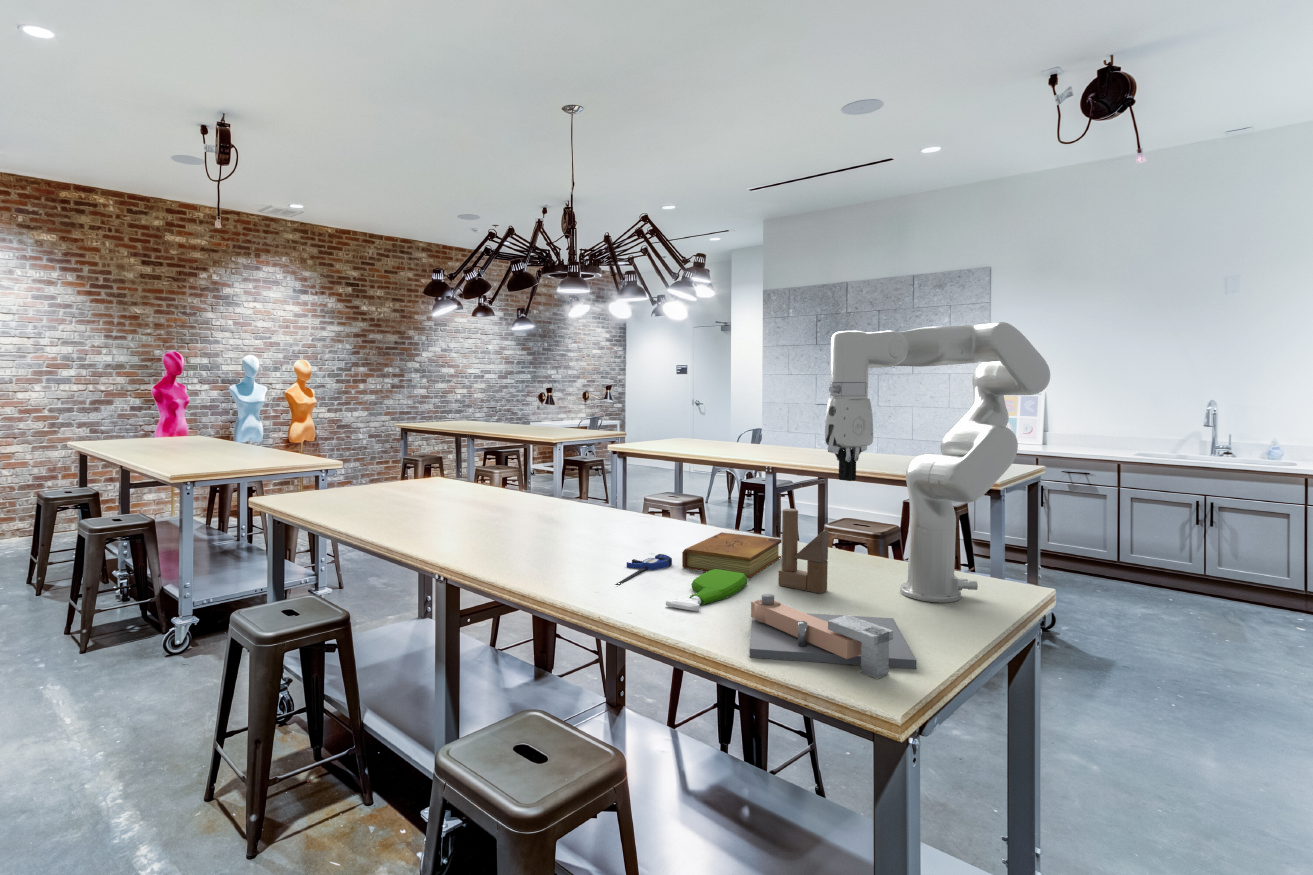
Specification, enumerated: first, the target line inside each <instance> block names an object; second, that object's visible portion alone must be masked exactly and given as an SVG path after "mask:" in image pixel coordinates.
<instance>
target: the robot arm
mask: <svg viewBox="0 0 1313 875" xmlns="http://www.w3.org/2000/svg"><path fill="white" fill-rule="evenodd" d="M977 363H979V364H977ZM964 364H965V365H966V364H967V365H968V364H977V366H976V367H975V369H974V370H973V371H974V372H973V374H972V381H971V382H972V389H973V393H972V394H973V402H972V404H971V407H970V408H969V409H968V411H966V413H965V414H963V416H962V417H961V418H960V419H959V420H958V421H957V422H955V424H954V425H953V426H952V427H951V428H950V429H949V430H948V431H947V432H946V433H945V435H944V436H943V437H942V439H941V442H940V448H939V449H940V452H941V453H921V454H919V455H916V456H915V457H913V458H912V459H911V460H910V462H909V463H908V464H907V467H906V471H905V481H906V486H907V491H908V492H907V493H908V499H909V500H908V502H909V526H908V527H909V528H908V530H909V532H908V556H907V557H908V563H907V564H908V565H907V568H908V569H907V581H906V582H904V583H902V584H901V585H900V587H899V588H900V590H899V591H900V593H902V594H903V595H904V596H906V597H909V598H910V599H914V600H916V601H917V600H918V601H923V602H930V603H941V604H942V603H954V602H957V601H959V600H961V599H962V592H961V591H963V590H972V591H977V590H978V588H979V586H978V581H977V580H969V579H968V578H958V577H957V576H956V574H955V566H956V565H955V562H956V559H955V558H956V537H957V536H956V534H957V533H956V532H957V530H956V528H957V516H956V511H955V509H954V505H953V503H952V502H957V503H966V504H967V503H968V504H969V503H974V502H976V501H978V500H980V499H981V498H982V497H984V495H985V494H986V493H987V492H988V491H989V490H990V489H991V488H992V487H993V486H994V485H995V484H996V482H998V480H999V479H1000V478H1001V477H1002V476H1003V475H1004V474H1005V473H1006V472H1007V471H1008V470H1009V468H1010V467H1011V466H1012V464H1013V463H1014V461H1015V459H1016V456H1017V453H1018V449H1019V443H1018V438H1017V435H1016V433H1015V432H1014V431H1012V429H1011V428H1010V427H1009V428H1008V427H1007V425H1008V423H1009V418H1010V417H1009V416H1010V415H1009V410H1008V409H1007V406H1006V400H1005V396H1034V395H1038V394H1039V393H1041V392H1044V391H1045V389H1046V388H1047V387H1048V385H1049V383H1050V381H1051V371H1050V367H1049V365H1048V363H1047V361H1046V359H1045V358H1044V356H1042V355H1041V353H1040V352H1039V351H1038V350H1037V349H1036V348H1035V346H1034V345H1033V344H1032V343H1031V342H1030V340H1028V338H1027V337H1026V336H1025V334H1023V333H1022V332H1021V331H1020V330H1019V329H1017V327H1015V326H1013V325H1012V324H1011V323H1008V322H1004V321H997V322H990V323H983V324H982V323H981V324H969V325H968V324H967V325H951V326H949V325H947V326H945V325H943V326H927V327H919V328H914V329H909V330H903V331H898V332H897V331H894V330H882V331H874V332H873V331H871V332H865V331H861V330H844V331H843V330H841V331H836V332H835V333H833V334H832V336H831V338H830V370H829V371H830V372H829V374H830V375H829V376H830V377H829V378H830V379H829V380H830V381H829V388H828V391H829V398H828V402H827V406H826V414H825V422H824V425H825V426H824V441H825V444H826V445H827V452H828V453H831V454H834V455H835V457H836V460H837V461H838V479H839V480H840V481H847V482H853V481H856V480H857V462H858V461H859V458H860V455H861V453H862V452H865V451H867V450H868V447H869V446H871V445H872V444H873V442H874V419H873V418H874V417H873V409H872V408H873V407H872V404H871V403H872V402H871V399H870V398H869V369H874V368H875V369H876V368H877V369H879V368H880V369H881V368H882V369H883V368H892V367H914V368H916V367H917V368H918V367H919V368H920V367H921V368H922V367H938V366H949V365H950V366H952V365H964Z"/></svg>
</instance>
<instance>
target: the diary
mask: <svg viewBox="0 0 1313 875" xmlns="http://www.w3.org/2000/svg"><path fill="white" fill-rule="evenodd" d="M780 544H782V538H774V537H764V536H758V535H757V536H756V535H750V534H749V535H748V534H741V533H740V534H739V533H738V534H737V533H730V532H729V533H728V532H722V531H721V532H720V533H717V534H715V535H713V536H711V537H708V538H706V539H704V540H702V541H699V542H697V543H695V544H693V545H691V546H688V547H687V548H685V549H684V550H682V553H681V554H682V555H681V556H682V558H681V560H682V561H681V562H682V563H681V564H682V566H681V567H682V568H683V569H687V570H693V571H699V572H704V573H706V572H708V571H710V570H713V569H719V570H726V571H732V572H739V573H744V574H745V576H746V577H747V579H752V578H753V577H755V576H756V575H758V574H759V573H761V572H762V571H763V569H764V570H766V569H767V568H768V567H770V566H772V565H773V564H775V563H776V562H777V561H779V560H780V559H782V555H779V550H780V549H779V548H780V547H779V545H780ZM779 558H780V559H779ZM778 559H779V560H778ZM775 561H776V562H775ZM772 563H773V564H772ZM769 565H770V566H769ZM767 566H768V567H767ZM766 567H767V568H766ZM760 571H761V572H760ZM757 573H758V574H757ZM754 575H755V576H754Z"/></svg>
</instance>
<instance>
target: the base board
mask: <svg viewBox="0 0 1313 875" xmlns="http://www.w3.org/2000/svg"><path fill="white" fill-rule="evenodd" d="M805 613H806V614H808V615H811V616H814V617H816V618H819V619H821V620H824V621H826V622H828V621H829V620H832V619H835V618H838V617H842V616H845V615H846V614H845V615H843V614H842V615H841V614H825V613H824V614H823V613H808V612H805ZM851 616H852V617H855V618H858V619H861V620H864V621H867V622H870V623H873V624H876V625H879V626H882V627H885V628H887V629H890V630H893V640H890V641H889V668H899V669H910V670H911V669H912V670H913V669H915V670H917V662H918V661H917V660H918V659H917V658H916V656H915V654H914V653H913V651H912V649H911V647H910V645H909V644H908V642H907V641H906V638H905V637H904V635H903V633H902V631H901V629H900V628H899V627H898V624H897V621H895V619H894V618H893V617H879V616H878V617H877V616H861V615H860V616H859V615H851ZM749 640H750V642H749V658H753V659H755V658H756V659H765V660H767V659H769V660H781V661H782V660H785V661H795V662H808V663H809V662H810V663H811V662H812V663H828V664H840V665H855V666H861V655H859V656H855V657H852V658H849V659H845V658H843V657H841V656H839V655H836V654H834V653H832V652H829V651H827V650H825V649H823V648H820V647H818V646H816V645H814V644H811V643H809V642H807V647H800V646H798V637H795V636H793V635H791V634H789V633H786V632H784V631H782V630H779V629H777V628H775V627H773V626H770V625H768V624H766V623H761V622H758V621H756V620H755V619H754V618H752V617H751V627H750V639H749Z"/></svg>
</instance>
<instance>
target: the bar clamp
mask: <svg viewBox="0 0 1313 875" xmlns="http://www.w3.org/2000/svg"><path fill="white" fill-rule="evenodd" d="M672 565H673V558H672V557H671V556H670V555H667V554H665V553H664V554H662V553H658V554H656V555H655V556H654V557H648V558H645V559H643V560H638V559H634V558H633V559H631V562H629V561H627V562H626V567H627V568H629V569H638V570H637V571H635V572H633V573H632V574H630V575H628V576H627V577H624V578H623V579H622V580H620V581H618V582H616V583H615V584H614V585H619V586H620V585H622V584H624V583H625V582H628V581H629V580H630V579H631V580H632V579H633V578H634V577H636V576H637V575H639V574H640V573H642V572H644V571H655V569H656V570H660V569H666V568H669V567H672ZM618 583H620V584H618ZM621 583H622V584H621Z"/></svg>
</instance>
